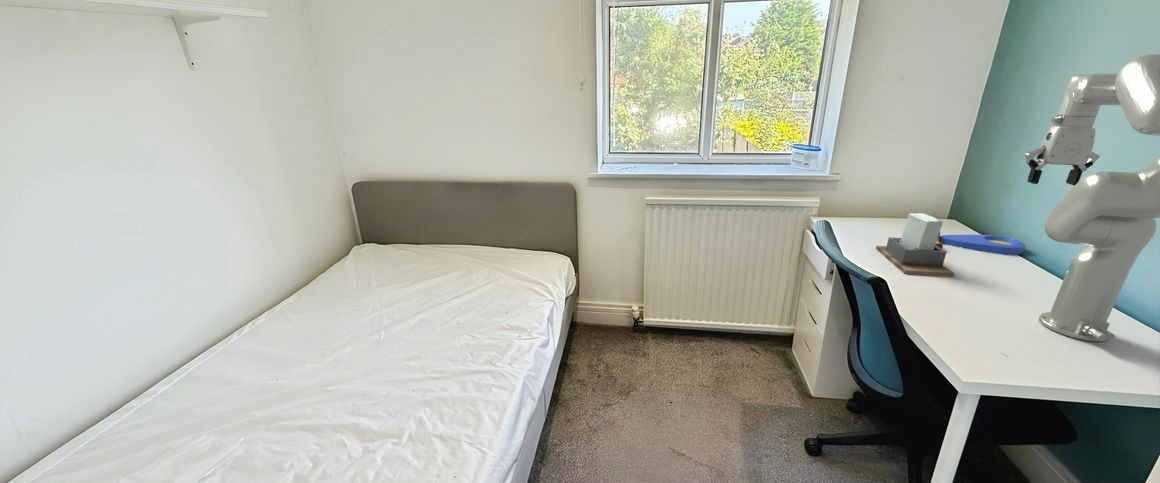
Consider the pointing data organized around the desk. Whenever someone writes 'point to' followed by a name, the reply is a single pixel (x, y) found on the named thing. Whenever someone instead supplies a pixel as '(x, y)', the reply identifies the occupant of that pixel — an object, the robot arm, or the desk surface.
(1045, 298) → the desk surface
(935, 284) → the desk surface
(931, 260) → the square box holder
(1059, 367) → the desk surface
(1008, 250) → the location marker
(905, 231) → the skincare box
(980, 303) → the desk surface
